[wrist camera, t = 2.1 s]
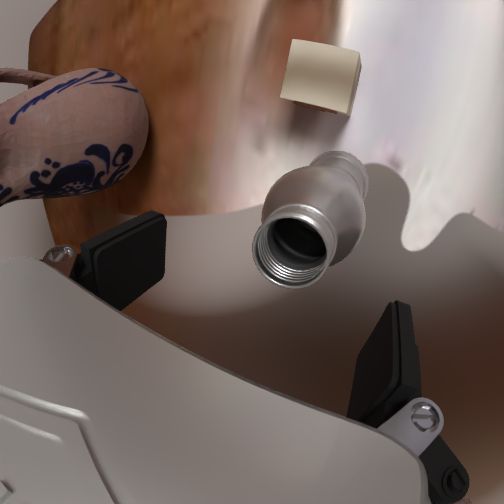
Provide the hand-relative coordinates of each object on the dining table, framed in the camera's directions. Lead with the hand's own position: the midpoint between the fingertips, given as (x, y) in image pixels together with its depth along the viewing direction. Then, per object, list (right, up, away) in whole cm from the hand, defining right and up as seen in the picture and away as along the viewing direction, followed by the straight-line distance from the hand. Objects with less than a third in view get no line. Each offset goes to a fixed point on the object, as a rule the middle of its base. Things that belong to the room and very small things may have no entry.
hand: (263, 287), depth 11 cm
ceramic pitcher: (-20, +22, +26) cm, 40 cm away
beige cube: (+8, +19, +14) cm, 25 cm away
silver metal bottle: (+9, +9, +19) cm, 23 cm away
